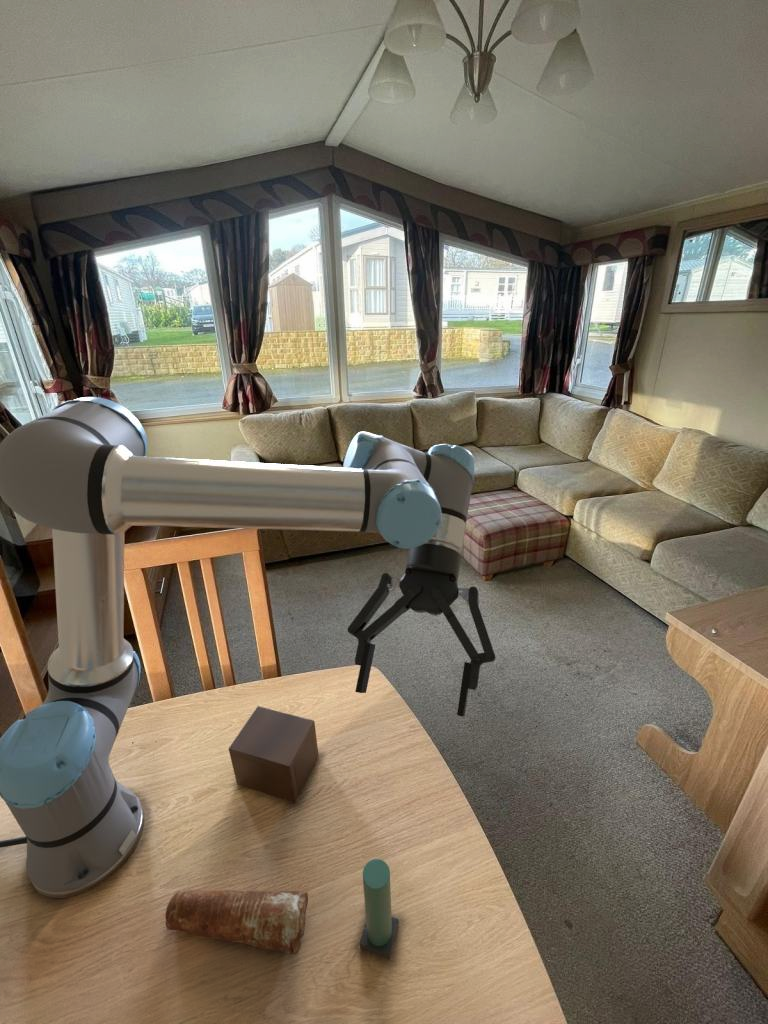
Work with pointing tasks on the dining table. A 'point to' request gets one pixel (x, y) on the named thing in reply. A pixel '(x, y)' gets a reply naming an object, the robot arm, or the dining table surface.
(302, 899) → the brown cylinder
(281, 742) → the dark brown wooden cube
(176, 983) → the dining table surface
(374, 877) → the green handled tool
